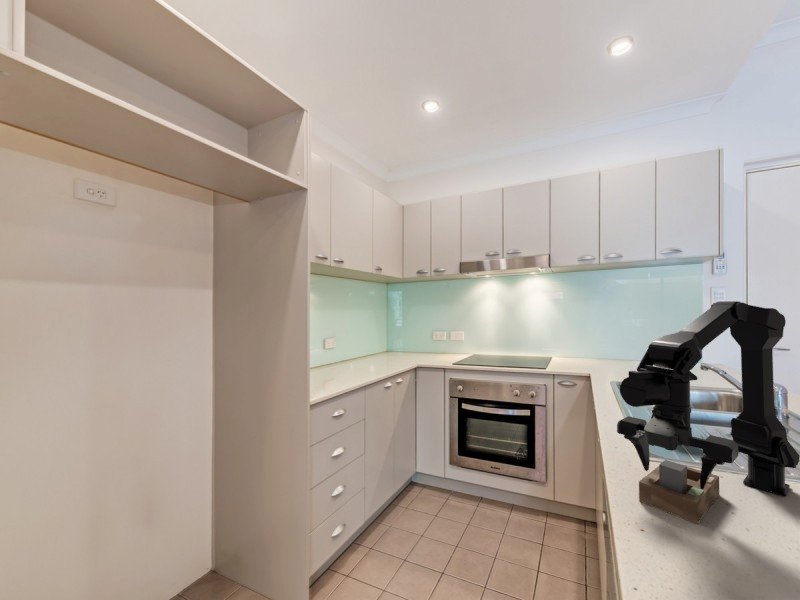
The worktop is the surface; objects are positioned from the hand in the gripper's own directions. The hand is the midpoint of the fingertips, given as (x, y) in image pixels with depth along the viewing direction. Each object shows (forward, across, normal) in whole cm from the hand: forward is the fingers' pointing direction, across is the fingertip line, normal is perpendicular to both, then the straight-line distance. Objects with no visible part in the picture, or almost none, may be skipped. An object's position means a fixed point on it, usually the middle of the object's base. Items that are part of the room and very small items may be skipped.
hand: (673, 479), depth 71 cm
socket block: (+5, 0, +4) cm, 7 cm away
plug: (+5, 0, 0) cm, 5 cm away
